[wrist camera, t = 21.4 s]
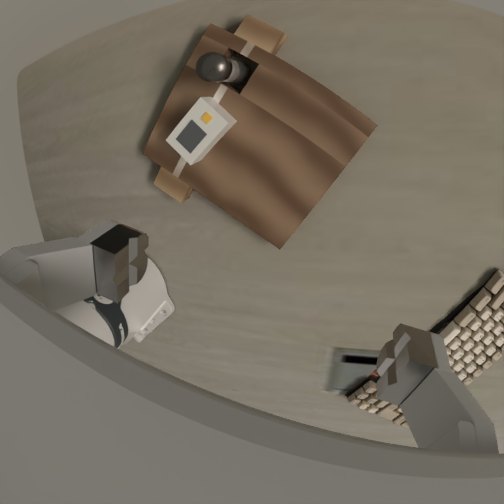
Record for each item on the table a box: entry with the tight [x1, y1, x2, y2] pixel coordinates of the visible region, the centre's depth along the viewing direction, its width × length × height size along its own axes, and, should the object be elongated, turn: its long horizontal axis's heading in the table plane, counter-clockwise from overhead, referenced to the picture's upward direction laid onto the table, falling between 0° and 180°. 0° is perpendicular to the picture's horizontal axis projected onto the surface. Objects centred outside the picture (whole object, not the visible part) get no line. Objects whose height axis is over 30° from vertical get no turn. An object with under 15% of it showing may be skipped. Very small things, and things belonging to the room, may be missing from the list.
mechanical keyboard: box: [345, 269, 504, 428], centre depth 44 cm, size 38×19×3 cm, turn 155°
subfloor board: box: [143, 15, 377, 249], centre depth 36 cm, size 26×23×2 cm
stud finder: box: [166, 97, 237, 165], centre depth 35 cm, size 7×4×3 cm, turn 136°
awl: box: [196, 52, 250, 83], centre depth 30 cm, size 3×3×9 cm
